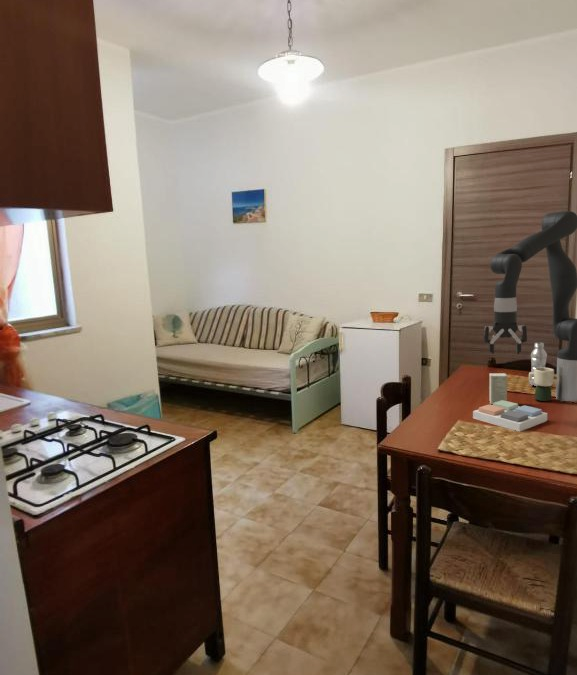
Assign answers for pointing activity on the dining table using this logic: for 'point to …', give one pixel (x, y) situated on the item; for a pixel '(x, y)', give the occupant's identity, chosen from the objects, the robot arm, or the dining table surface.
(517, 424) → the white flat square tray
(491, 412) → the key terracotta
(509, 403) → the key sage
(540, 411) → the key slate
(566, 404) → the dining table surface
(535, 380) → the character mug
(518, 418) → the key charcoal
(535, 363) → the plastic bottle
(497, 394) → the skincare box
